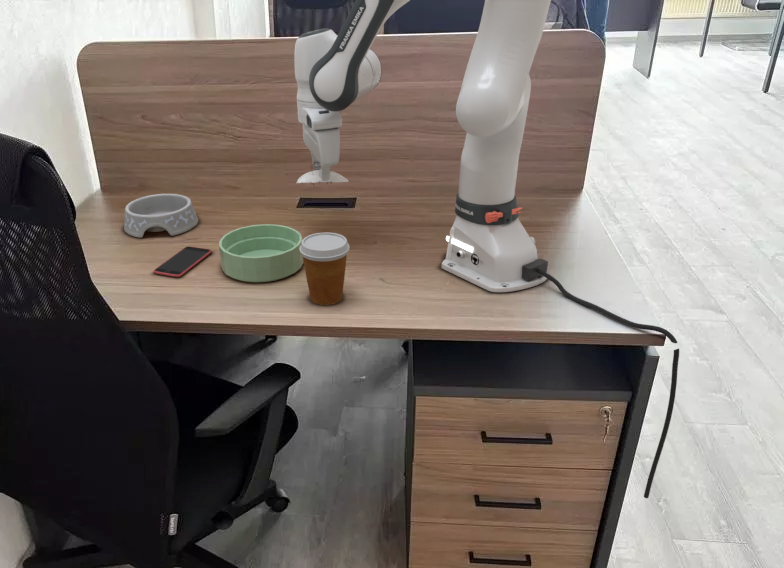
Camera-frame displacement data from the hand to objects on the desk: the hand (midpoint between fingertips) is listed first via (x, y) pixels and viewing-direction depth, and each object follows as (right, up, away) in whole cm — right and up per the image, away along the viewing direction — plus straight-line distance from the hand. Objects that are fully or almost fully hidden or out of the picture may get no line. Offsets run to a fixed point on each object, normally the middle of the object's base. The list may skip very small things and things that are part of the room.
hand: (321, 174), depth 162 cm
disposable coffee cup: (+1, -29, -19) cm, 35 cm away
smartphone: (-31, -20, -2) cm, 37 cm away
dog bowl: (-39, -8, +18) cm, 44 cm away
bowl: (-13, -21, -6) cm, 25 cm away
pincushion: (0, -2, +1) cm, 2 cm away
